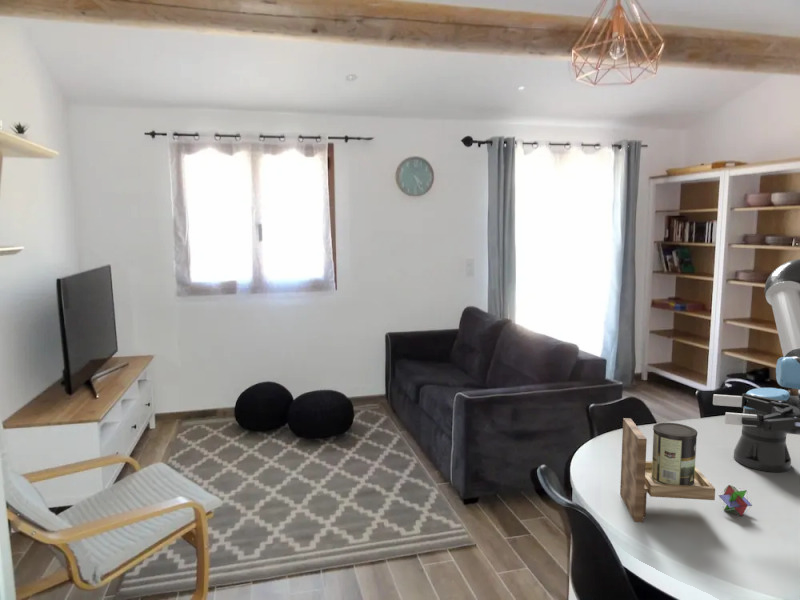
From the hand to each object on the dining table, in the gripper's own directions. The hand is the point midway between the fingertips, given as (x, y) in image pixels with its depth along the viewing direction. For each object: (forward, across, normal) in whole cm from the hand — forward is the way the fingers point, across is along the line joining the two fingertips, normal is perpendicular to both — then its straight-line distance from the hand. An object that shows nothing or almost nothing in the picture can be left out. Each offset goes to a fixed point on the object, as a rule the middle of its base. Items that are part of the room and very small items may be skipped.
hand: (718, 408), depth 139 cm
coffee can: (+10, -2, -20) cm, 23 cm away
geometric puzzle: (-6, +1, -28) cm, 29 cm away
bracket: (+12, -3, -28) cm, 31 cm away
